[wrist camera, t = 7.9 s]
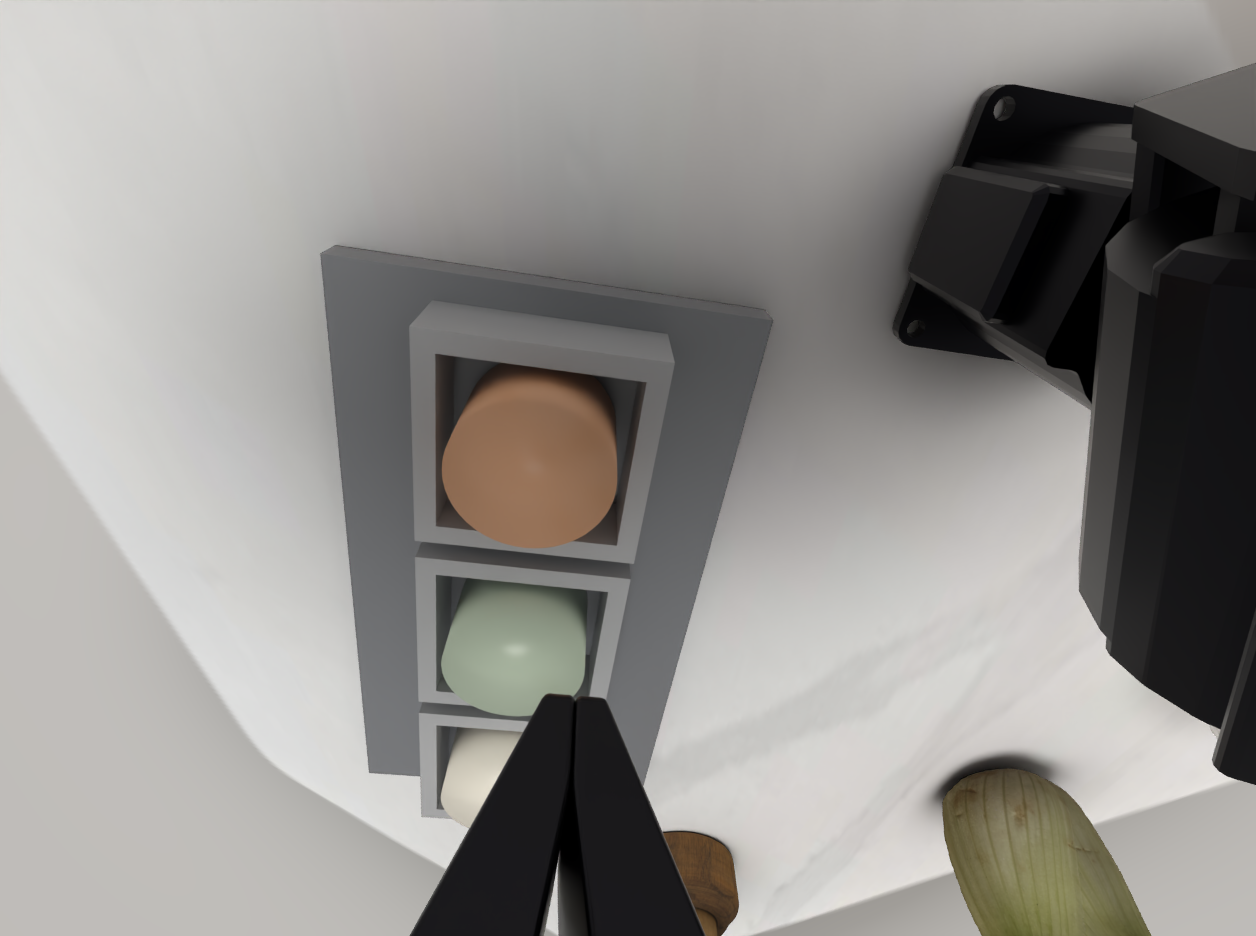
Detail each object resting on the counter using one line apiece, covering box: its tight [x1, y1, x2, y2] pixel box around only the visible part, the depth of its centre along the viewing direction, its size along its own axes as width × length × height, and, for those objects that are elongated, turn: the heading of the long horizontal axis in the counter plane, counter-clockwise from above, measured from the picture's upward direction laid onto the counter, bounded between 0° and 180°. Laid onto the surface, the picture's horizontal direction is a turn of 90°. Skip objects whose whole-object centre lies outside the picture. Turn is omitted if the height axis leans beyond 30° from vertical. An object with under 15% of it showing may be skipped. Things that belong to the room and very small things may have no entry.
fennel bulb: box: [942, 768, 1151, 936], centre depth 25 cm, size 6×5×12 cm
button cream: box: [441, 727, 523, 828], centre depth 24 cm, size 4×4×3 cm
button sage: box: [441, 578, 588, 716], centre depth 20 cm, size 4×4×3 cm
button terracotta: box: [442, 363, 617, 548], centre depth 17 cm, size 4×4×3 cm
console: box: [320, 245, 773, 819], centre depth 21 cm, size 12×22×3 cm, turn 171°
